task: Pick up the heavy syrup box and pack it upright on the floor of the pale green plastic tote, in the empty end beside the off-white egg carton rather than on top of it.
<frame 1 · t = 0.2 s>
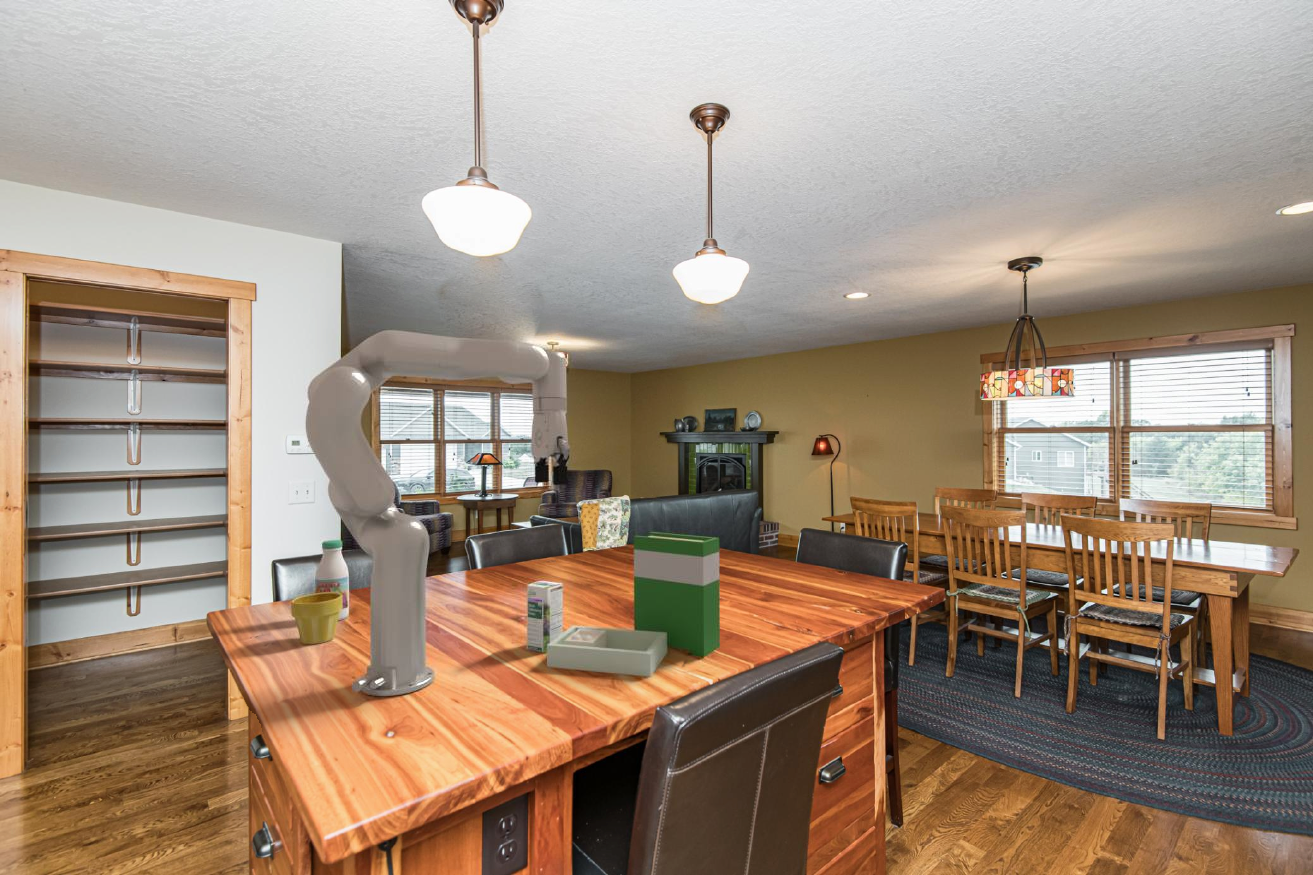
hand: (550, 483, 133), 36 cm above the kitchen island, tool pointing down, fingers open, 9 cm apart
egg carton: (585, 657, 122), point 1 cm above the kitchen island, touching tote
hardback book: (676, 646, 131), on the kitchen island
tote: (608, 663, 121), on the kitchen island
syrup box: (544, 651, 128), on the kitchen island
plant pot: (317, 641, 136), on the kitchen island
milk bottle: (332, 619, 153), on the kitchen island
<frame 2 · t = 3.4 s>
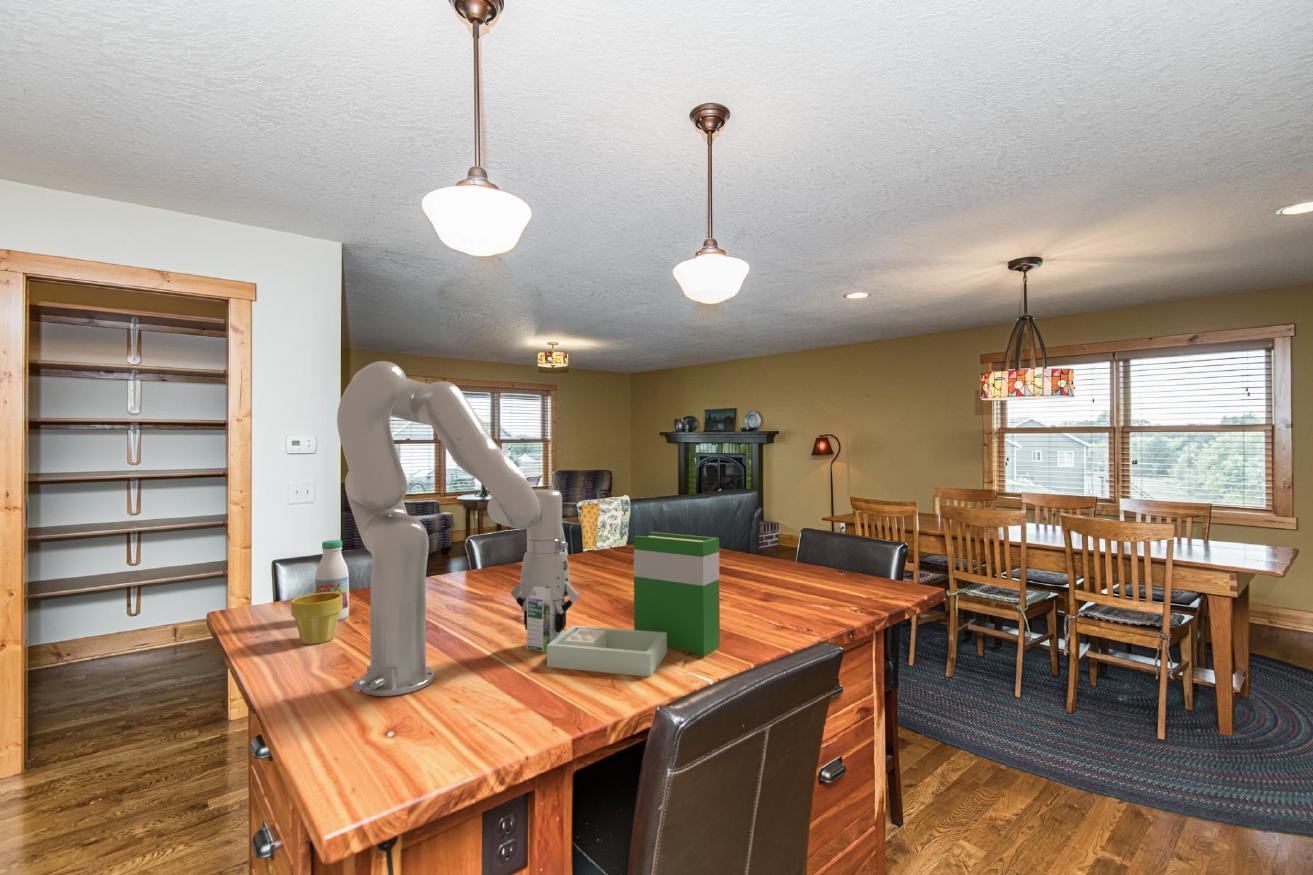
hand: (544, 628, 129), 5 cm above the kitchen island, tool pointing down, fingers closed on syrup box, 6 cm apart
syrup box: (544, 651, 128), on the kitchen island, touching gripper
everything else where it was.
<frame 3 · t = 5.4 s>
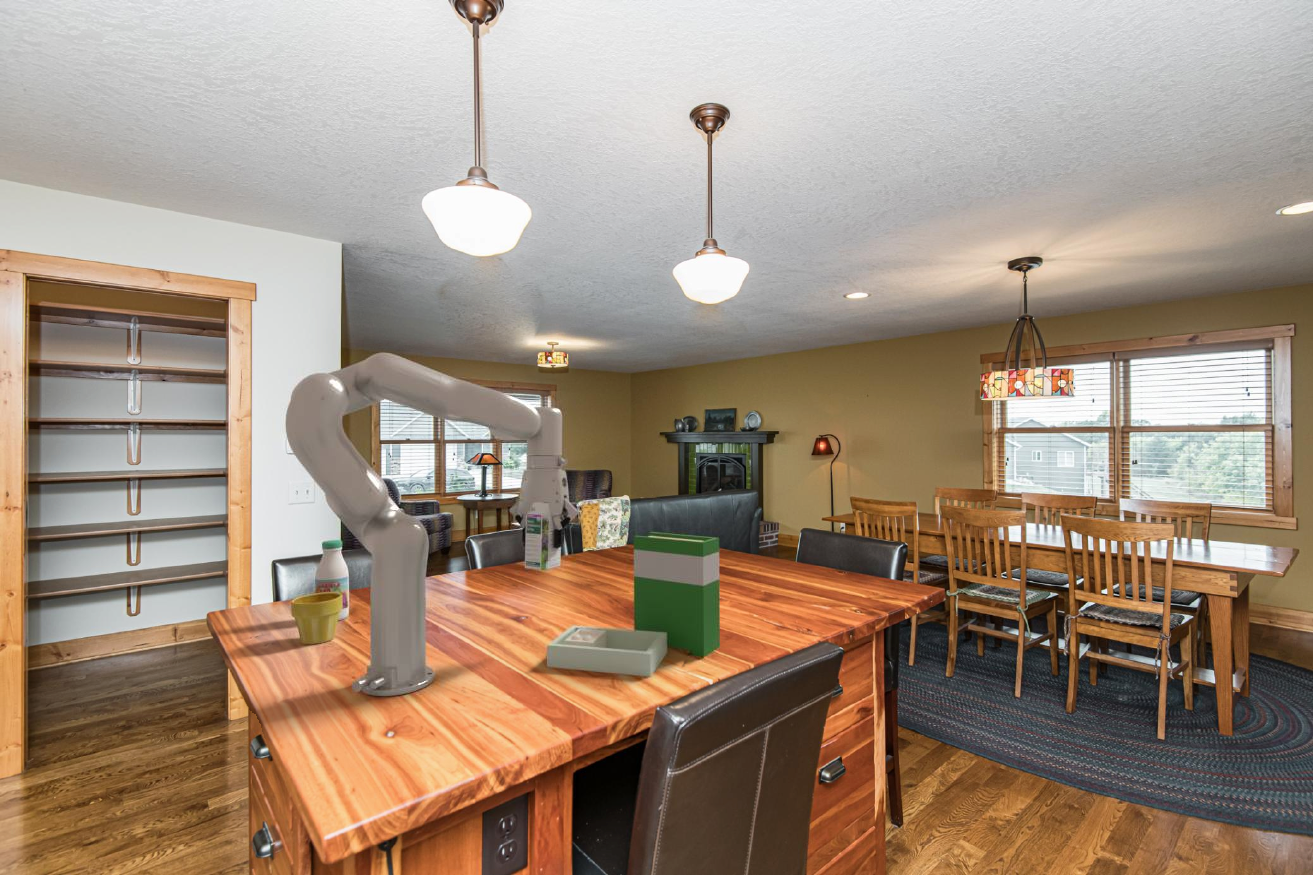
hand: (543, 545, 129), 23 cm above the kitchen island, tool pointing down, fingers closed on syrup box, 6 cm apart
syrup box: (542, 568, 129), point 18 cm above the kitchen island, touching gripper
everything else where it was.
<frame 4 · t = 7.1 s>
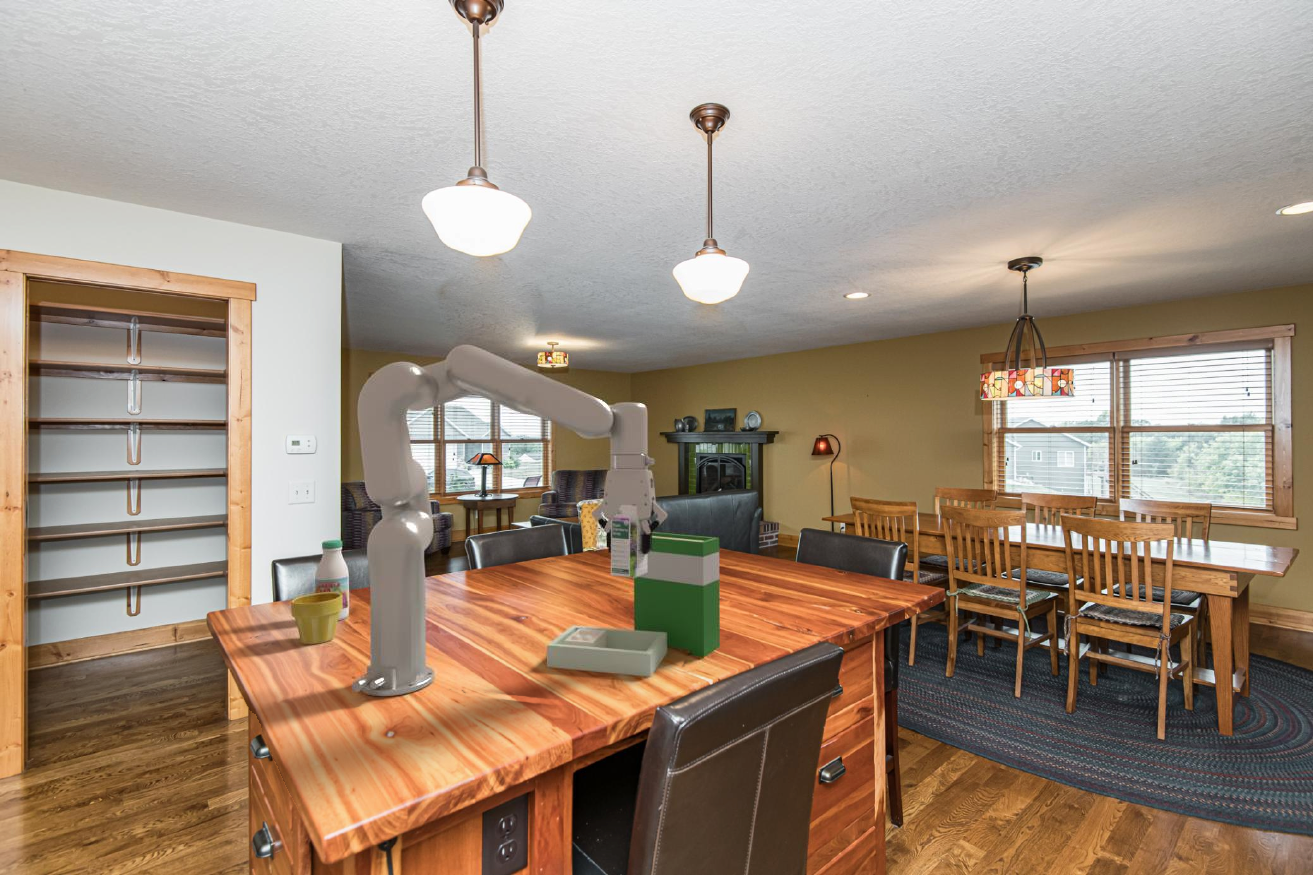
hand: (629, 551, 120), 23 cm above the kitchen island, tool pointing down, fingers closed on syrup box, 6 cm apart
syrup box: (629, 575, 120), point 18 cm above the kitchen island, touching gripper
everything else where it was.
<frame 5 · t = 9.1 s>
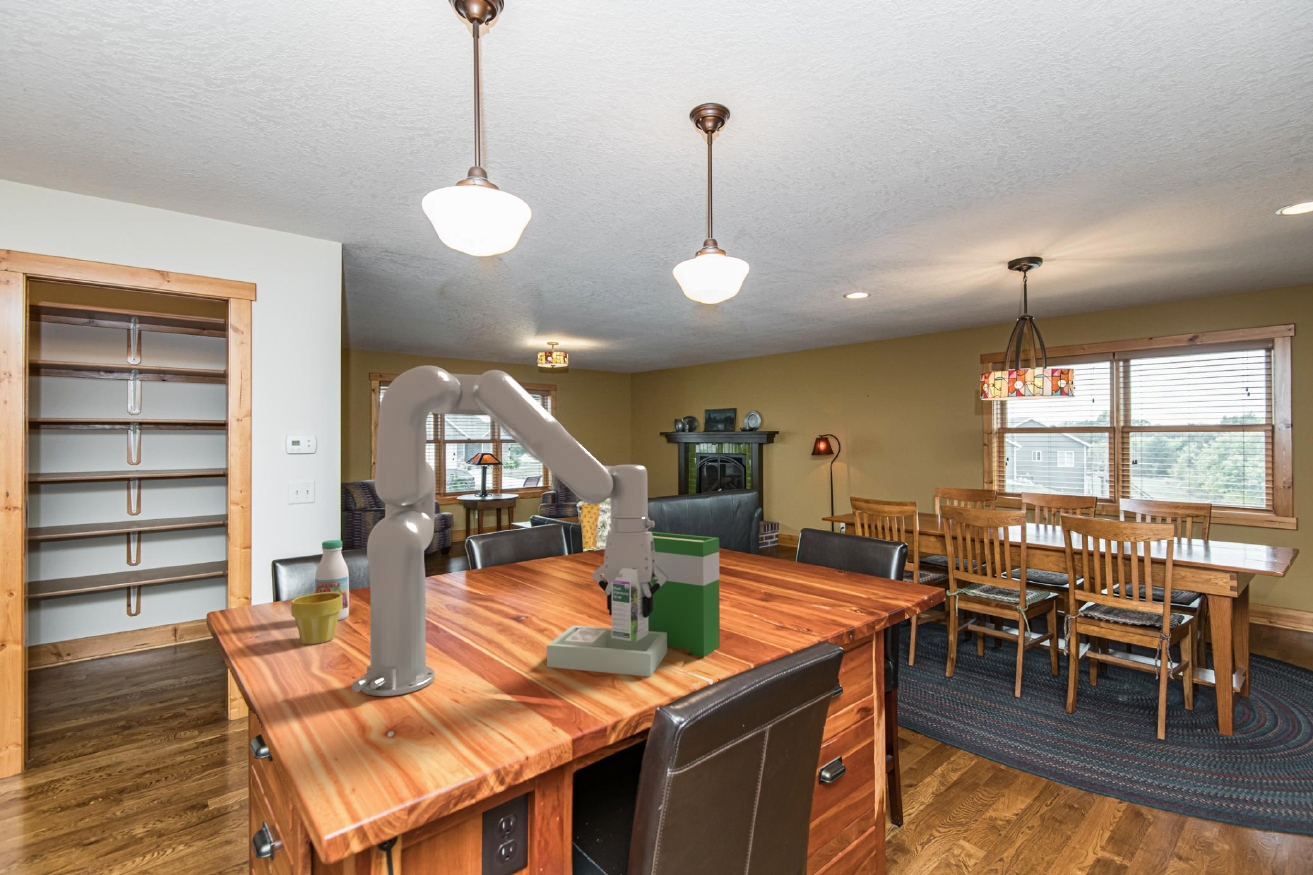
hand: (629, 613, 120), 10 cm above the kitchen island, tool pointing down, fingers closed on syrup box, 6 cm apart
syrup box: (630, 637, 120), point 5 cm above the kitchen island, touching gripper
everything else where it was.
when the fingers open (7 cm above the kitchen island, at t = 10.8 s): syrup box drops 1 cm, resting on tote.
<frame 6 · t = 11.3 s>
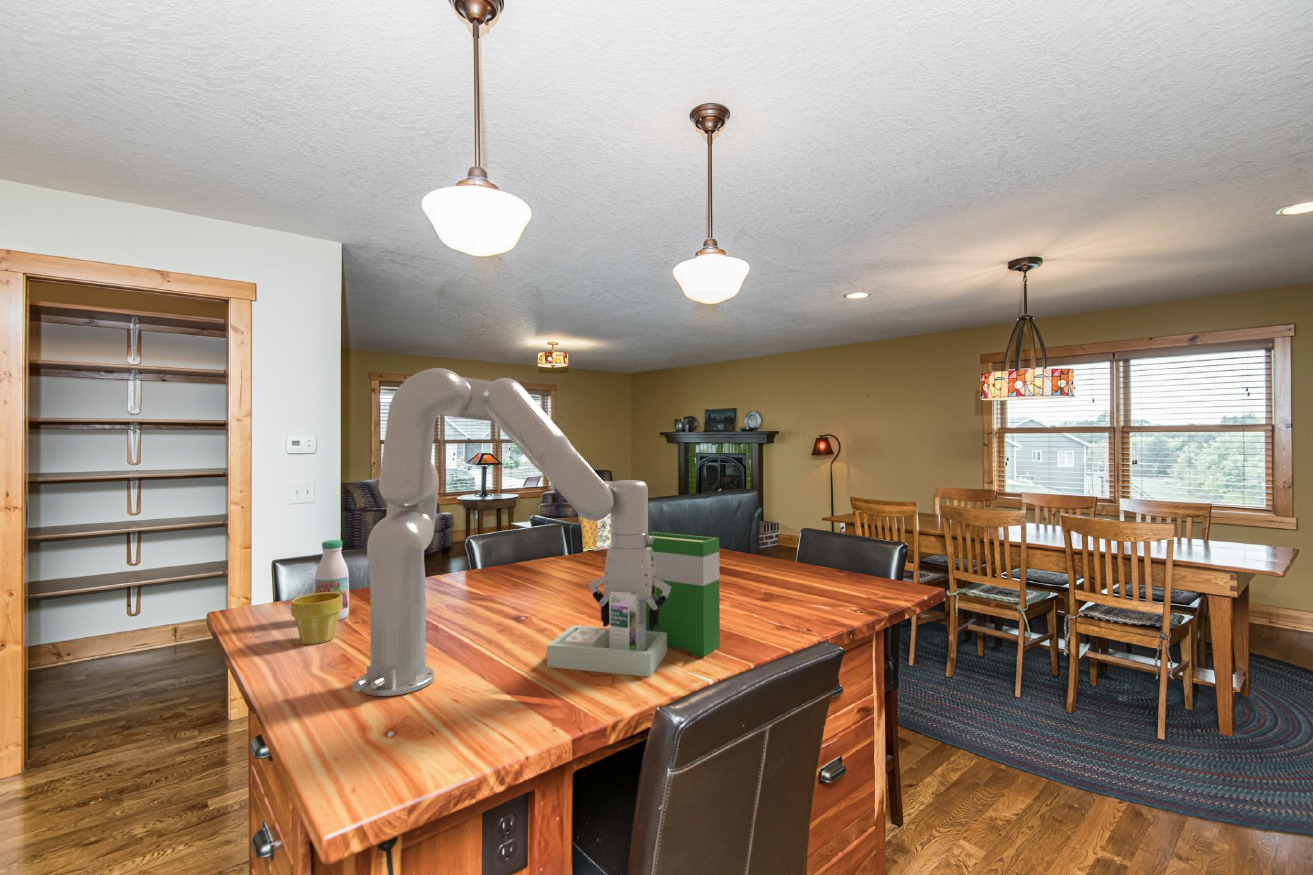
hand: (629, 626, 120), 8 cm above the kitchen island, tool pointing down, fingers open, 9 cm apart
syrup box: (627, 662, 120), point 1 cm above the kitchen island, touching tote
everything else where it was.
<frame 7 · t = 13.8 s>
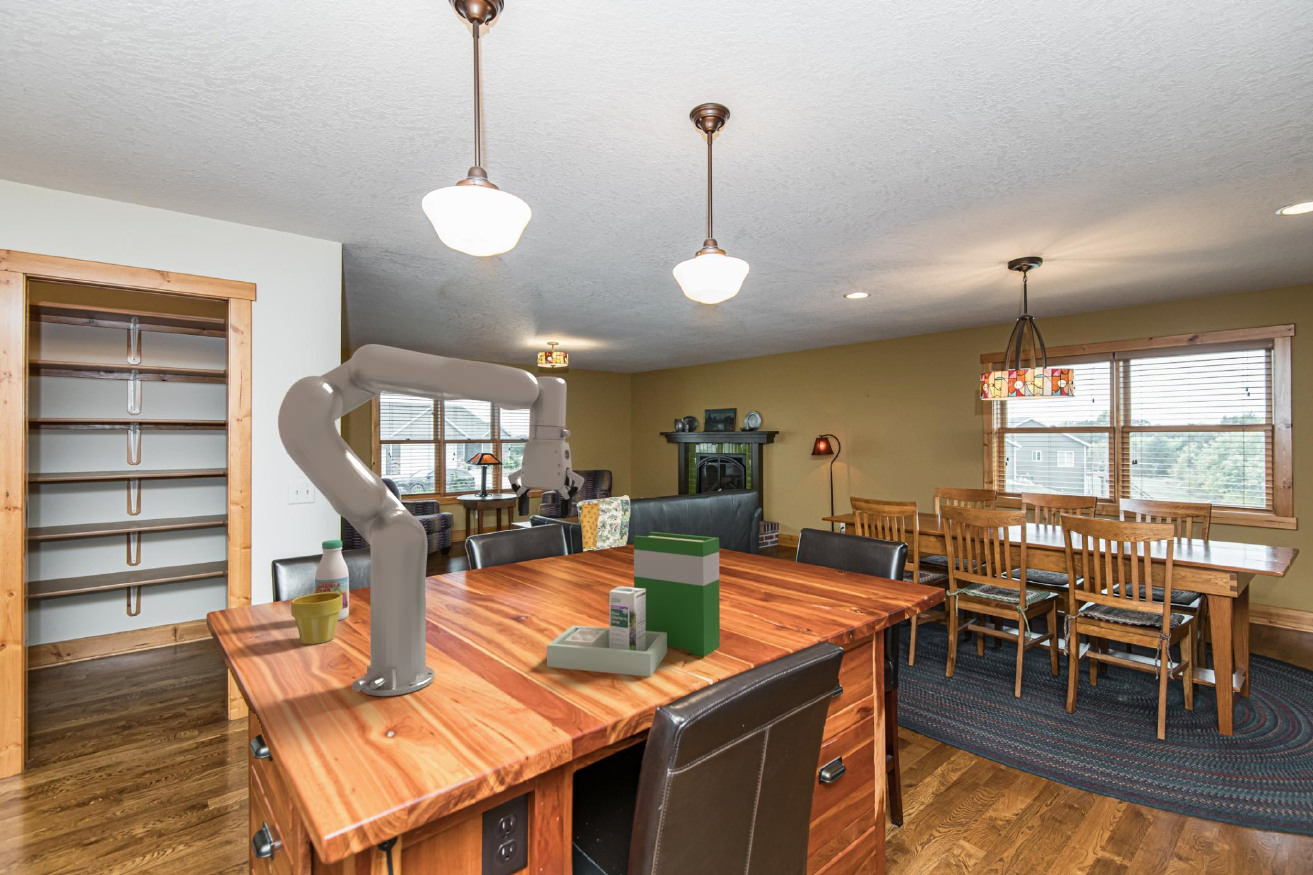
hand: (544, 516, 125), 29 cm above the kitchen island, tool pointing down, fingers open, 9 cm apart
nothing on the kitchen island moved.
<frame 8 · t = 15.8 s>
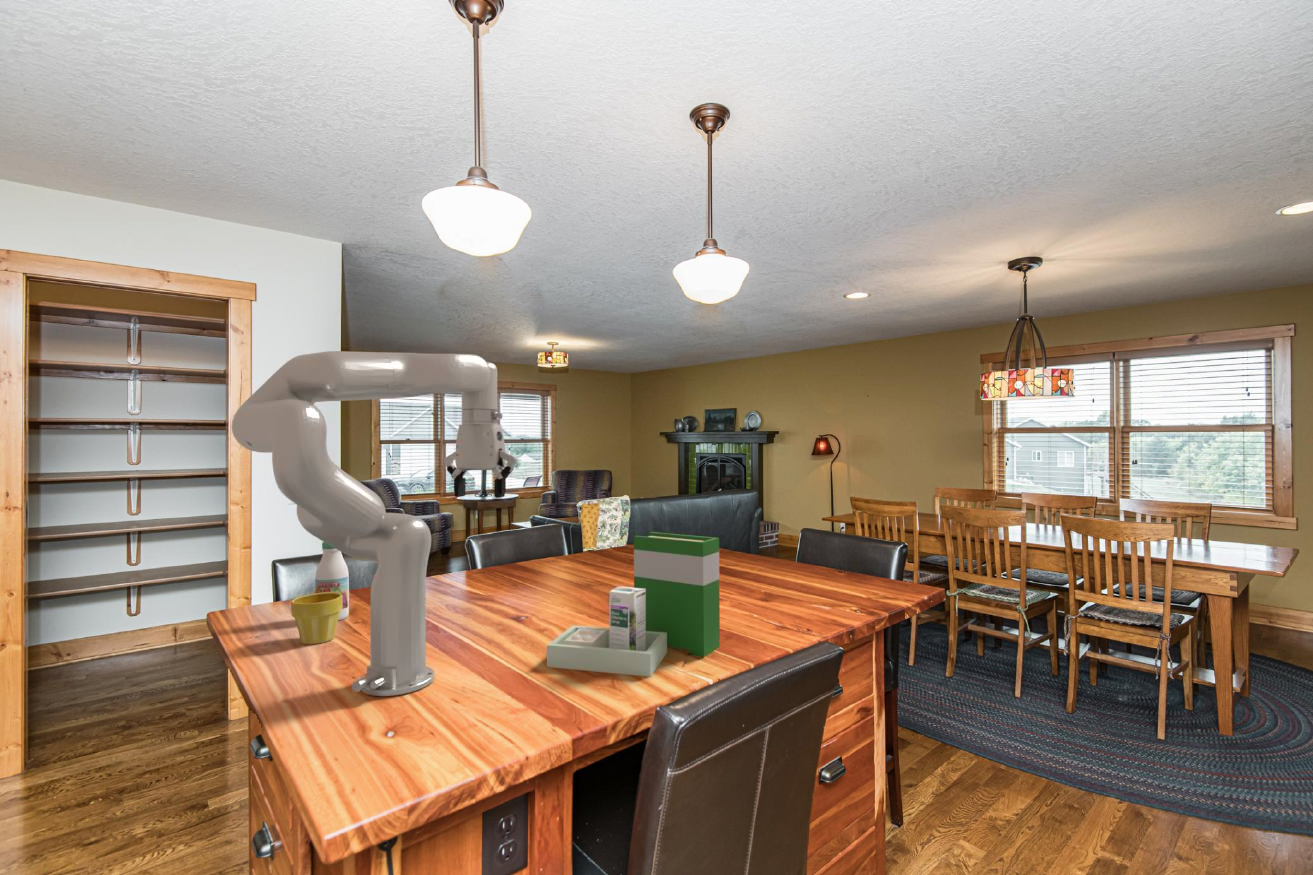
hand: (479, 496, 130), 33 cm above the kitchen island, tool pointing down, fingers open, 9 cm apart
nothing on the kitchen island moved.
at the end: syrup box inside the target area on the tote (0.9 cm from its centre), point 0.6 cm above the tote's base; syrup box tilted 0°; egg carton moved 0.0 cm from its start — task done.
